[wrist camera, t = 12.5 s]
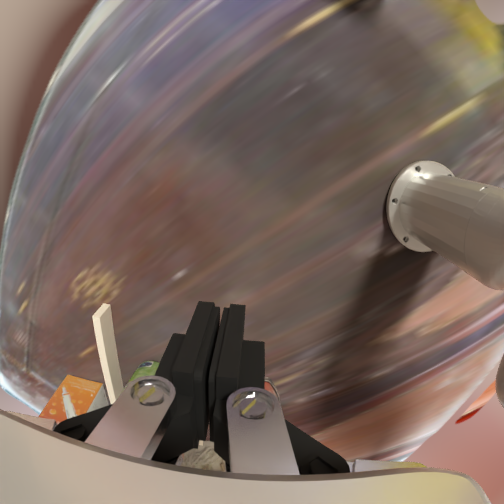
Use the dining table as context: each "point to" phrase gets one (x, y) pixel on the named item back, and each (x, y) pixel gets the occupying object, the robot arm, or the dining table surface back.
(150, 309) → the dining table surface
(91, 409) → the small box
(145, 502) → the robot arm
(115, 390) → the box
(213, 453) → the ceramic cottage
